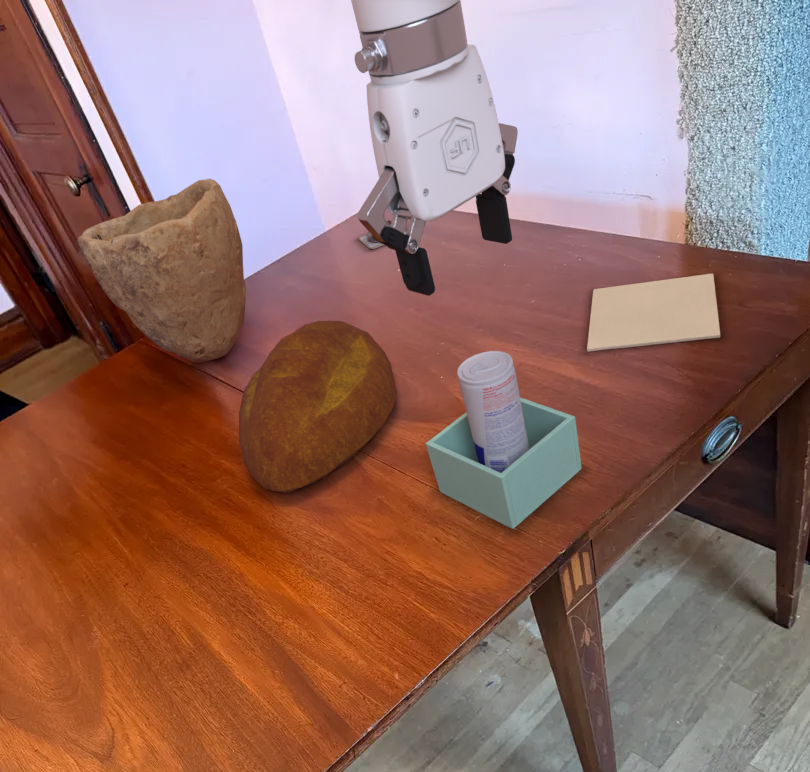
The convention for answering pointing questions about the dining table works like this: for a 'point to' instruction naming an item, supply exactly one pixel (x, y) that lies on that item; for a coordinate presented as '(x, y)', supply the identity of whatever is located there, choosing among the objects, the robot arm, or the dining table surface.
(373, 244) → the rusty domed plate
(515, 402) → the beverage can
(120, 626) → the dining table surface
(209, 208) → the bowl
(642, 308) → the mat
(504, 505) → the open square box
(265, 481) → the bread
